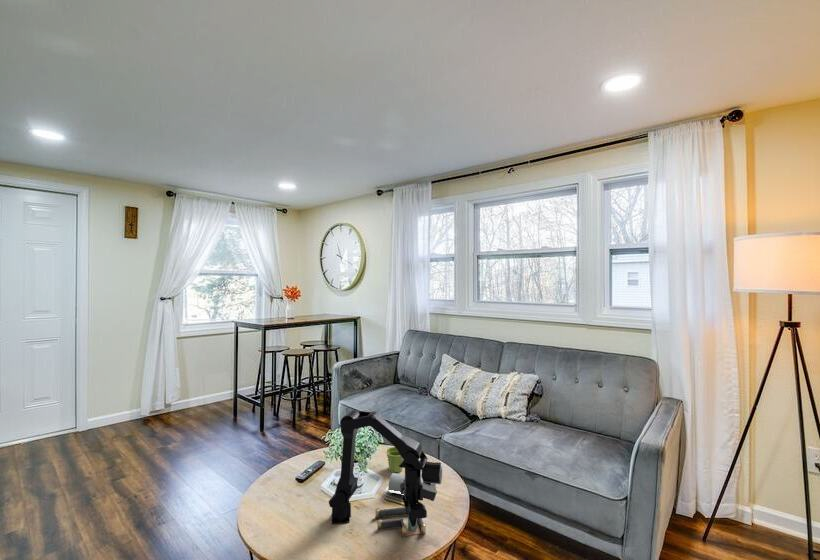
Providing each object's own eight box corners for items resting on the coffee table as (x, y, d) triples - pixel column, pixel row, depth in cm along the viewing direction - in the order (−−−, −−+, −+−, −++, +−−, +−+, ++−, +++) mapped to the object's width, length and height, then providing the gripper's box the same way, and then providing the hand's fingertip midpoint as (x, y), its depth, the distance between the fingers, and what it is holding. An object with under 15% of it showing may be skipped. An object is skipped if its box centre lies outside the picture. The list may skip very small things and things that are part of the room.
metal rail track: (379, 540, 132) (379, 531, 132) (375, 516, 145) (375, 508, 145) (426, 534, 135) (426, 526, 135) (417, 511, 149) (417, 503, 149)
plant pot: (409, 468, 182) (409, 449, 182) (398, 476, 174) (398, 457, 174) (393, 462, 187) (393, 445, 187) (381, 471, 179) (381, 452, 179)
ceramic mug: (407, 499, 156) (407, 480, 156) (387, 497, 158) (388, 478, 158) (413, 486, 167) (413, 468, 167) (394, 484, 168) (394, 466, 168)
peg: (417, 529, 136) (417, 510, 136) (408, 530, 136) (409, 511, 136) (415, 524, 140) (416, 504, 140) (407, 525, 139) (407, 505, 139)
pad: (406, 535, 135) (406, 534, 135) (404, 526, 140) (404, 525, 140) (420, 533, 136) (420, 532, 136) (417, 524, 141) (417, 523, 141)
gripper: (441, 491, 130) (441, 537, 130) (428, 464, 148) (428, 505, 148) (409, 495, 128) (408, 542, 128) (399, 467, 146) (399, 508, 146)
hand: (412, 523), depth 138 cm, fingers closed on peg, 3 cm apart
